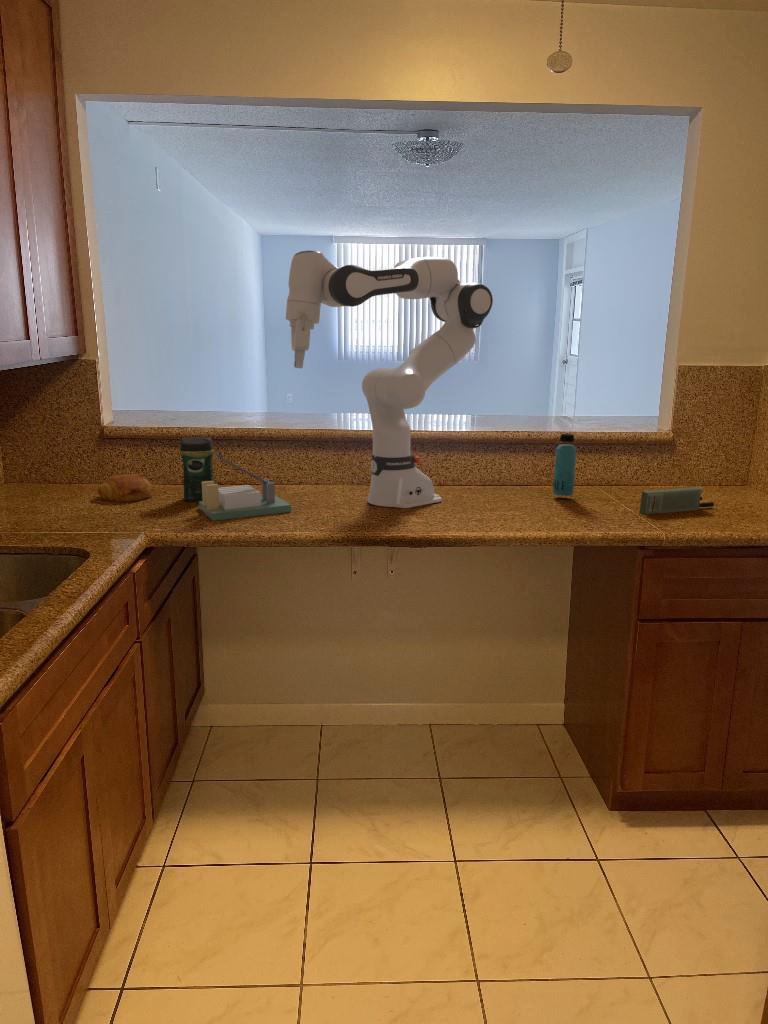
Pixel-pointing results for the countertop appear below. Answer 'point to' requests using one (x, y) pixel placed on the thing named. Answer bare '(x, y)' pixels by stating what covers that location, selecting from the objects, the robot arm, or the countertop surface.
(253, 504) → the board
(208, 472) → the coffee jar
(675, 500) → the handheld radio
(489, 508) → the countertop surface
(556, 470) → the beverage bottle
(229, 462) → the retention strap
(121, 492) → the croissant
